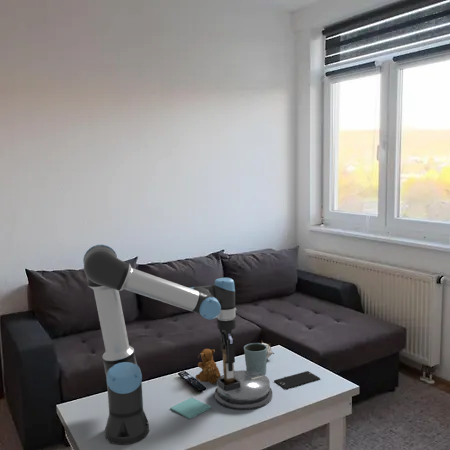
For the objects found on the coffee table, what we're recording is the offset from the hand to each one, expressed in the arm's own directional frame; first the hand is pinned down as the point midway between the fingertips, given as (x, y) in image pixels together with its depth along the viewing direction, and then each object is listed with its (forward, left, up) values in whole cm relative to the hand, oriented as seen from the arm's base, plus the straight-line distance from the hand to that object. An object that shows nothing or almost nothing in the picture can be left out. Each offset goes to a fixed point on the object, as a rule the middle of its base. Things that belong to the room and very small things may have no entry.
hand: (228, 375), depth 197 cm
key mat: (-16, +5, -9) cm, 19 cm away
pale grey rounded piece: (+38, +14, -10) cm, 42 cm away
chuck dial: (+5, -3, -8) cm, 10 cm away
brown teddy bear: (+6, +17, -10) cm, 21 cm away
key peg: (0, 0, -4) cm, 4 cm away
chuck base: (+5, -3, -9) cm, 11 cm away
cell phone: (+30, -11, -10) cm, 34 cm away
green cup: (+24, +7, -10) cm, 27 cm away
